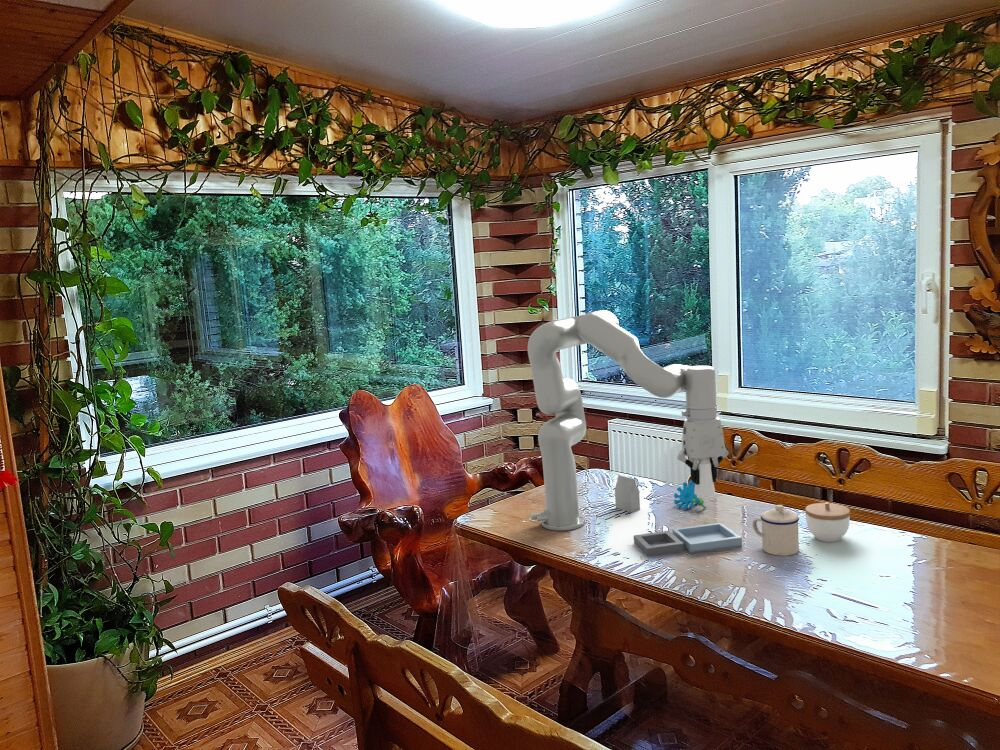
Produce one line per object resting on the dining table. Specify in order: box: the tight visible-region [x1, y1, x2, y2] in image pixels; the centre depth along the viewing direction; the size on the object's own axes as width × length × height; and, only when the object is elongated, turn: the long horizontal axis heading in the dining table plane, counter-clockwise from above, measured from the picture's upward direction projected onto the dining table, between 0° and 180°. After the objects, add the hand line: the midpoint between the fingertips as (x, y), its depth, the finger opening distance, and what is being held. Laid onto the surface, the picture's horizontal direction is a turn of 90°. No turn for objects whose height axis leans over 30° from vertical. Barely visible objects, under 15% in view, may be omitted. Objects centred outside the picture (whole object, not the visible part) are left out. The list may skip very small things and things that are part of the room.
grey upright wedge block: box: [614, 474, 641, 513], centre depth 232 cm, size 4×7×10 cm, turn 35°
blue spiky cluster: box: [673, 479, 707, 511], centre depth 230 cm, size 11×6×10 cm
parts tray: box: [671, 522, 743, 555], centre depth 201 cm, size 14×12×2 cm
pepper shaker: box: [694, 458, 716, 498], centre depth 198 cm, size 5×5×11 cm
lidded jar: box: [804, 502, 851, 543], centre depth 197 cm, size 11×11×9 cm
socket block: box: [633, 530, 685, 557], centre depth 200 cm, size 10×10×2 cm
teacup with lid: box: [752, 504, 800, 557], centre depth 193 cm, size 12×9×12 cm
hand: (704, 481), depth 199 cm, fingers closed on pepper shaker, 3 cm apart
